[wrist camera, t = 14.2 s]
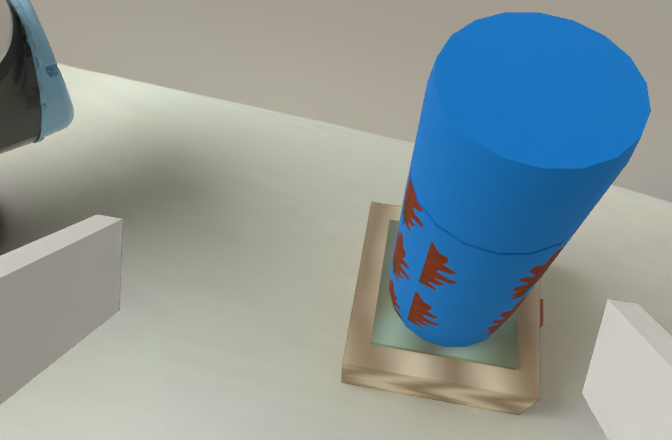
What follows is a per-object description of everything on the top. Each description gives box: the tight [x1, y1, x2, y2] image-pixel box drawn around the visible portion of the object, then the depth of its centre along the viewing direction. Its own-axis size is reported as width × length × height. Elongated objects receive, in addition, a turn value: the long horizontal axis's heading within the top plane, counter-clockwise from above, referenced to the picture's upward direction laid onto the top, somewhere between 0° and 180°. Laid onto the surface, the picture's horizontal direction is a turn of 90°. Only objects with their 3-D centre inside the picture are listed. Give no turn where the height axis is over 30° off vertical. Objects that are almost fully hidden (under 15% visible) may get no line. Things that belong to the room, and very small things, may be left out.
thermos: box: [389, 13, 651, 347], centre depth 38 cm, size 11×11×25 cm
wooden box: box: [342, 202, 543, 415], centre depth 52 cm, size 17×16×7 cm
